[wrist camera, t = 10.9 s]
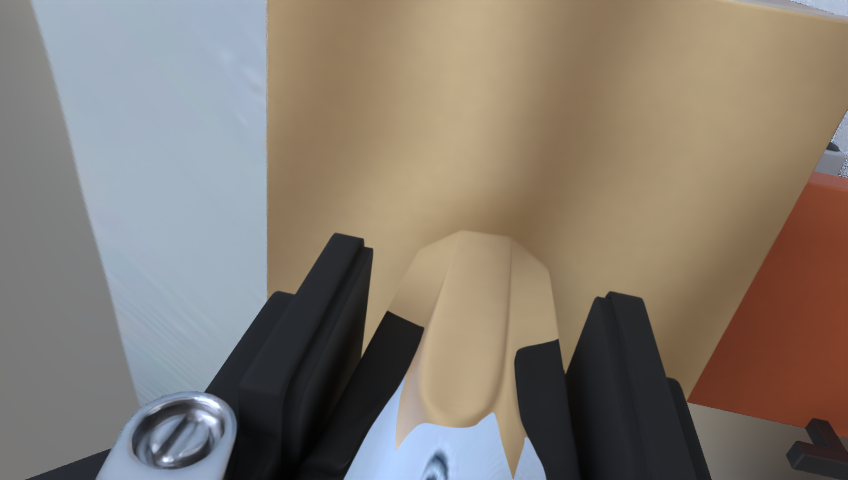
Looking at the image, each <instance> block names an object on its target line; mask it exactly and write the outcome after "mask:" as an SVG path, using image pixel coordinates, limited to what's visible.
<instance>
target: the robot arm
mask: <svg viewBox="0 0 848 480" xmlns="http://www.w3.org/2000/svg"><path fill="white" fill-rule="evenodd" d="M364 245H365V243H364V238H360V237H355V236H350V235H345V234H341V233H334V234H333V235H332V236H331V238H330V240H329V241H328V243H327V244H326V246H325V247H324V249H323V251H322V252H321V254H320V255H319V257H318V259H317V260H316V262H315V263H314V265H313V267H312V268H311V270H310V271H309V273H308V275H307V276H306V278H305V279H304V281H303V283H302V284H301V286H300V287H299V289H298V291H297V292H296V294H291V293H286V292H282V291H276V292H274V293H273V294H272V295H271V296H270V298H269V299H268V301H267V302H266V303H265V305H264V306H263V308H262V309H261V311H260V312H259V314H258V315H257V317H256V318H255V319H254V321H253V322H252V324H251V325H250V327H249V328H248V330H247V331H246V332H245V334H244V335H243V337H242V338H241V340H240V341H239V343H238V344H237V346H236V347H235V348H234V350H233V351H232V353H231V354H230V356H229V357H228V359H227V360H226V362H225V363H224V364H223V366H222V367H221V369H220V370H219V372H218V373H217V375H216V376H215V377H214V379H213V380H212V382H211V383H210V385H209V386H208V388H207V389H206V391H205V392H204V393H203V392H198V391H189V392H177V393H173V394H169V395H165V396H162V397H160V398H158V399H156V400H154V401H152V402H150V403H148V404H146V405H145V406H143V407H142V408H141V409H139V410H138V411H137V412H136V413H134V414H133V415H132V416H131V418H130V419H129V420H128V422H127V423H126V424H125V426H124V427H123V429H122V430H121V432H120V434H119V436H118V438H117V440H116V442H115V443H114V445H113V447H112V448H111V449H108V450H105V451H103V452H100V453H97V454H94V455H92V456H89V457H86V458H83V459H81V460H78V461H75V462H73V463H70V464H67V465H64V466H62V467H59V468H56V469H54V470H51V471H48V472H46V473H43V474H40V475H37V476H34V477H32V478H29V479H26V480H290V479H291V478H292V476H293V474H294V473H295V471H296V469H297V468H298V466H299V464H300V463H301V461H302V460H303V458H304V456H305V455H306V453H307V452H308V450H309V448H310V447H311V445H312V444H313V442H314V440H315V439H316V437H317V435H318V434H319V432H320V431H321V429H322V427H323V426H324V424H325V422H326V421H327V419H328V417H329V416H330V414H331V412H332V410H333V409H334V407H335V405H336V403H337V401H338V400H339V398H340V396H341V394H342V392H343V391H344V389H345V387H346V385H347V383H348V381H349V380H350V378H351V376H352V374H353V372H354V370H355V368H356V367H357V365H358V363H359V361H360V359H361V356H362V348H363V339H364V331H365V322H366V313H367V305H368V296H369V288H370V279H371V270H372V262H373V248H370V247H365V246H364ZM565 375H566V382H567V388H568V395H569V402H570V408H571V415H572V421H573V428H574V435H575V441H576V448H577V454H578V461H579V467H580V472H581V476H582V480H712V479H711V476H710V473H709V470H708V467H707V464H706V461H705V458H704V455H703V452H702V448H701V445H700V442H699V439H698V436H697V433H696V430H695V427H694V424H693V421H692V418H691V415H690V411H689V409H688V405H687V402H686V399H685V396H684V393H683V390H682V388H681V385H680V383H679V382H678V381H677V380H676V379H674V378H670V377H666V374H665V371H664V367H663V364H662V360H661V357H660V354H659V350H658V347H657V344H656V340H655V337H654V334H653V330H652V327H651V324H650V320H649V317H648V313H647V310H646V307H645V303H644V301H643V299H642V298H641V297H637V296H632V295H627V294H623V293H618V292H613V291H609V292H608V293H607V295H606V296H605V298H604V297H599V296H597V297H596V298H595V299H594V301H593V303H592V306H591V308H590V311H589V314H588V316H587V319H586V322H585V324H584V327H583V330H582V332H581V335H580V337H579V340H578V343H577V345H576V348H575V351H574V353H573V356H572V358H571V361H570V364H569V366H568V369H567V372H566V374H565Z"/></svg>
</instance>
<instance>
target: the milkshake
mask: <svg viewBox="0 0 848 480" xmlns="http://www.w3.org/2000/svg"><path fill="white" fill-rule="evenodd" d="M290 480H582V476H581V472H580V467H579V461H578V454H577V448H576V441H575V435H574V428H573V421H572V415H571V408H570V402H569V395H568V388H567V382H566V375H565V368H564V362H563V355H562V348H561V342H560V335H559V328H558V322H557V315H556V310H555V304H554V299H553V293H552V287H551V280H550V274H549V270H548V268H547V267H546V266H545V265H544V264H543V263H541V262H540V261H539V260H538V259H537V258H536V257H534V256H533V255H532V254H531V253H530V252H529V251H527V250H526V249H525V248H524V247H523V246H522V245H520V244H519V243H518V242H517V241H516V240H515V239H514V238H512V237H509V236H502V235H495V234H488V233H482V232H475V231H468V230H460V231H458V232H456V233H453V234H451V235H449V236H447V237H445V238H443V239H440V240H438V241H436V242H434V243H432V244H429V245H427V246H425V247H423V248H421V249H419V251H418V253H417V254H416V256H415V258H414V260H413V262H412V263H411V265H410V267H409V269H408V271H407V273H406V275H405V277H404V279H403V280H402V282H401V284H400V286H399V288H398V290H397V292H396V294H395V295H394V297H393V299H392V301H391V303H390V305H389V307H388V309H387V310H386V312H385V314H384V316H383V318H382V320H381V322H380V324H379V325H378V327H377V329H376V331H375V333H374V335H373V337H372V339H371V340H370V342H369V344H368V346H367V348H366V350H365V352H364V354H363V355H362V357H361V359H360V361H359V363H358V365H357V367H356V368H355V370H354V372H353V374H352V376H351V378H350V380H349V381H348V383H347V385H346V387H345V389H344V391H343V392H342V394H341V396H340V398H339V400H338V401H337V403H336V405H335V407H334V409H333V410H332V412H331V414H330V416H329V417H328V419H327V421H326V422H325V424H324V426H323V427H322V429H321V431H320V432H319V434H318V435H317V437H316V439H315V440H314V442H313V444H312V445H311V447H310V448H309V450H308V452H307V453H306V455H305V456H304V458H303V460H302V461H301V463H300V464H299V466H298V468H297V469H296V471H295V473H294V474H293V476H292V478H291V479H290Z"/></svg>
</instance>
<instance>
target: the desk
mask: <svg viewBox="0 0 848 480" xmlns="http://www.w3.org/2000/svg"><path fill="white" fill-rule="evenodd" d="M847 110H848V17H846V16H841V15H835V14H833V13H830V12H827V11H823V10H820V9H817V8H813V7H810V6H807V5H804V4H800V3H797V2H794V1H791V0H267V301H268V299H269V298H270V296H271V295H272V294H273V293H274V292H276V291H282V292H286V293H291V294H296V292H297V291H298V289H299V287H300V286H301V284H302V283H303V281H304V279H305V278H306V276H307V275H308V273H309V271H310V270H311V268H312V267H313V265H314V263H315V262H316V260H317V259H318V257H319V255H320V254H321V252H322V251H323V249H324V247H325V246H326V244H327V243H328V241H329V240H330V238H331V236H332V235H333V234H334V233H341V234H345V235H350V236H355V237H360V238H364V243H365V245H364V246H365V247H370V248H373V262H372V270H371V279H370V288H369V296H368V305H367V313H366V322H365V331H364V339H363V348H362V355H363V354H364V352H365V350H366V348H367V346H368V344H369V342H370V340H371V339H372V337H373V335H374V333H375V331H376V329H377V327H378V325H379V324H380V322H381V320H382V318H383V316H384V314H385V312H386V310H387V309H388V307H389V305H390V303H391V301H392V299H393V297H394V295H395V294H396V292H397V290H398V288H399V286H400V284H401V282H402V280H403V279H404V277H405V275H406V273H407V271H408V269H409V267H410V265H411V263H412V262H413V260H414V258H415V256H416V254H417V253H418V251H419V249H421V248H423V247H425V246H427V245H429V244H432V243H434V242H436V241H438V240H440V239H443V238H445V237H447V236H449V235H451V234H453V233H456V232H458V231H460V230H468V231H475V232H482V233H488V234H495V235H502V236H509V237H512V238H514V239H515V240H516V241H517V242H518V243H519V244H520V245H522V246H523V247H524V248H525V249H526V250H527V251H529V252H530V253H531V254H532V255H533V256H534V257H536V258H537V259H538V260H539V261H540V262H541V263H543V264H544V265H545V266H546V267H547V268H548V270H549V274H550V280H551V287H552V293H553V299H554V304H555V310H556V315H557V322H558V328H559V335H560V342H561V348H562V355H563V362H564V368H565V374H566V372H567V369H568V366H569V364H570V361H571V358H572V356H573V353H574V351H575V348H576V345H577V343H578V340H579V337H580V335H581V332H582V330H583V327H584V324H585V322H586V319H587V316H588V314H589V311H590V308H591V306H592V303H593V301H594V299H595V298H596V297H597V296H599V297H604V298H605V296H606V295H607V293H608V292H609V291H613V292H618V293H623V294H627V295H632V296H637V297H641V298H642V299H643V301H644V303H645V307H646V310H647V313H648V317H649V320H650V324H651V327H652V330H653V334H654V337H655V340H656V344H657V347H658V350H659V354H660V357H661V360H662V364H663V367H664V371H665V374H666V377H670V378H674V379H676V380H677V381H678V382H679V383H680V385H681V388H682V390H683V393H684V396H685V399H686V401H687V399H688V397H689V395H690V393H691V392H692V390H693V388H694V386H695V384H696V383H697V381H698V379H699V377H700V375H701V374H702V372H703V370H704V368H705V366H706V365H707V363H708V361H709V359H710V357H711V356H712V354H713V352H714V350H715V348H716V347H717V345H718V343H719V341H720V339H721V338H722V336H723V334H724V332H725V330H726V328H727V327H728V325H729V323H730V321H731V319H732V318H733V316H734V314H735V312H736V310H737V309H738V307H739V305H740V303H741V301H742V300H743V298H744V296H745V294H746V292H747V291H748V289H749V287H750V285H751V283H752V282H753V280H754V278H755V276H756V274H757V272H758V271H759V269H760V267H761V265H762V263H763V262H764V260H765V258H766V256H767V254H768V253H769V251H770V249H771V247H772V245H773V244H774V242H775V240H776V238H777V236H778V235H779V233H780V231H781V229H782V227H783V226H784V224H785V222H786V220H787V218H788V217H789V215H790V213H791V211H792V209H793V207H794V206H795V204H796V202H797V200H798V198H799V197H800V195H801V193H802V191H803V189H804V188H805V186H806V184H807V182H808V180H809V179H810V177H811V175H812V173H813V171H814V170H815V168H816V166H817V164H818V162H819V161H820V159H821V157H822V155H823V153H824V152H825V150H826V148H827V146H828V144H829V142H830V141H831V139H832V137H833V135H834V133H835V132H836V130H837V128H838V126H839V124H840V123H841V121H842V119H843V117H844V115H845V114H846V112H847ZM361 357H362V356H361Z"/></svg>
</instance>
